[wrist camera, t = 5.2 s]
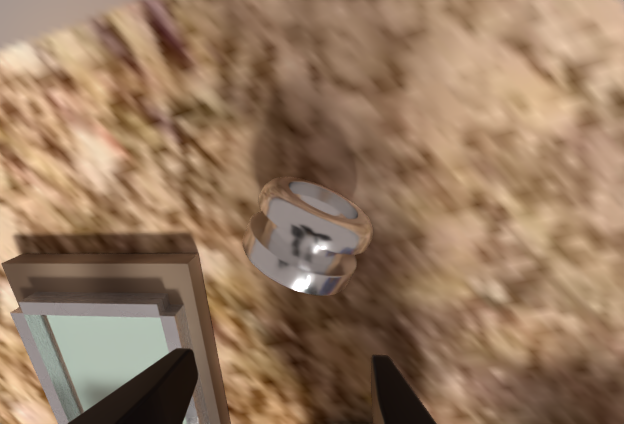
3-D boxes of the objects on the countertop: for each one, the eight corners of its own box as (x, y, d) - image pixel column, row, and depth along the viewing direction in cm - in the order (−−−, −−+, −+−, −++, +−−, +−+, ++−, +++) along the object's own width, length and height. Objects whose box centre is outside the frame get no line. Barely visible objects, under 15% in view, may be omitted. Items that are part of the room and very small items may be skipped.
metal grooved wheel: (260, 215, 16) (224, 260, 11) (280, 163, 15) (251, 188, 10) (347, 254, 16) (348, 314, 11) (373, 205, 15) (386, 249, 10)
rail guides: (181, 293, 16) (171, 304, 16) (210, 424, 20) (203, 440, 19) (23, 291, 18) (5, 301, 17) (74, 416, 21) (61, 430, 20)
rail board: (198, 253, 17) (186, 264, 16) (243, 491, 23) (237, 512, 22) (22, 253, 18) (-1, 264, 17) (110, 479, 25) (98, 499, 23)
